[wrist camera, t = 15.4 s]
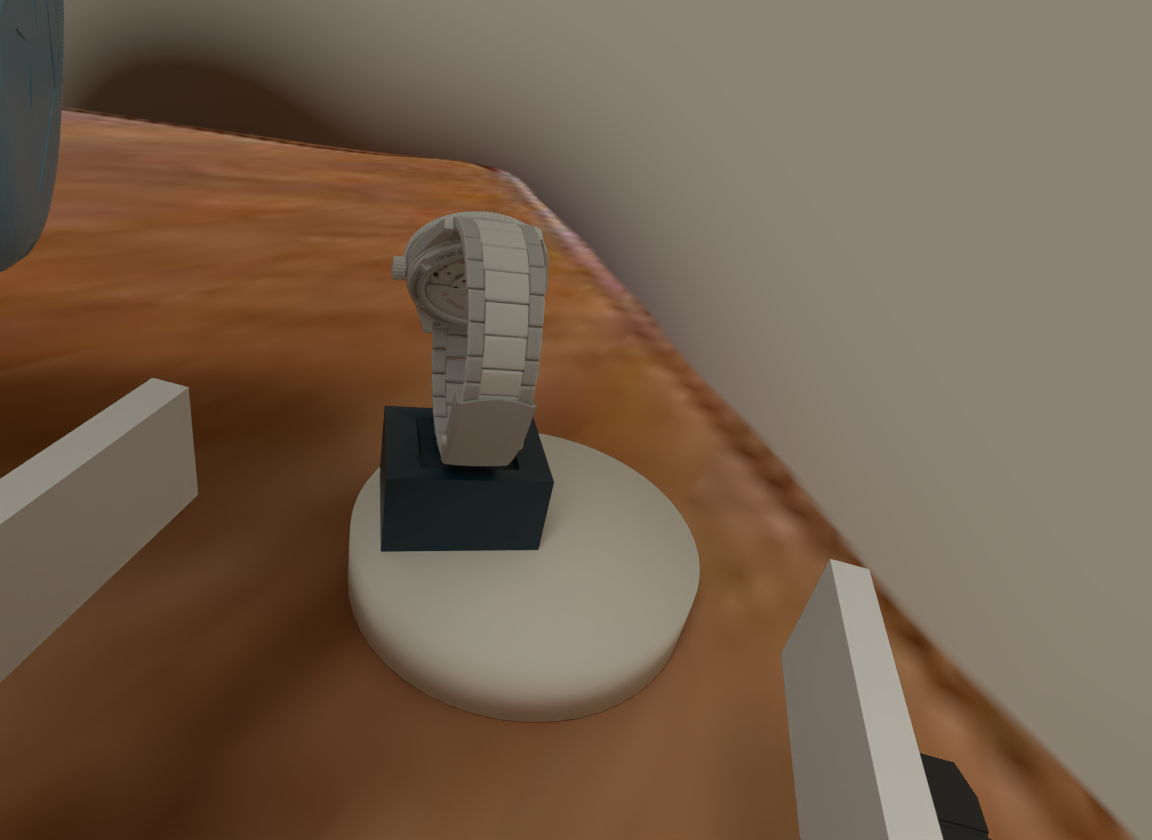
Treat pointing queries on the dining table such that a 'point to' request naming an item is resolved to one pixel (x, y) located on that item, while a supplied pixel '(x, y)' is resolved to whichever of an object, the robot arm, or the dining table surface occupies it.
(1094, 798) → the dining table surface
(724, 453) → the dining table surface
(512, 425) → the watch
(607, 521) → the display plinth
